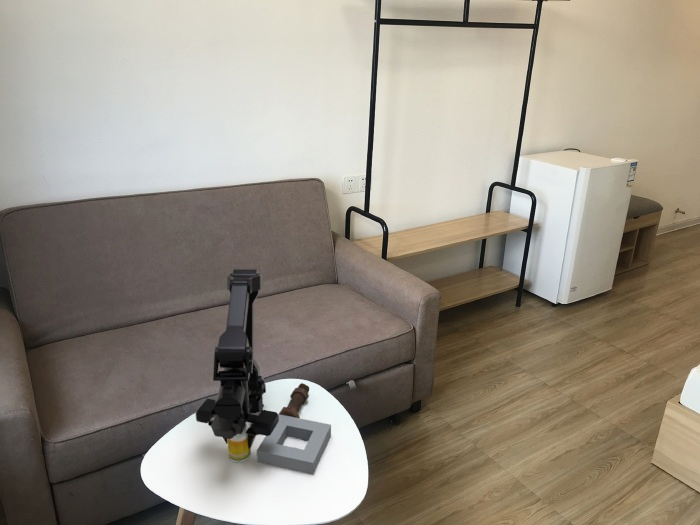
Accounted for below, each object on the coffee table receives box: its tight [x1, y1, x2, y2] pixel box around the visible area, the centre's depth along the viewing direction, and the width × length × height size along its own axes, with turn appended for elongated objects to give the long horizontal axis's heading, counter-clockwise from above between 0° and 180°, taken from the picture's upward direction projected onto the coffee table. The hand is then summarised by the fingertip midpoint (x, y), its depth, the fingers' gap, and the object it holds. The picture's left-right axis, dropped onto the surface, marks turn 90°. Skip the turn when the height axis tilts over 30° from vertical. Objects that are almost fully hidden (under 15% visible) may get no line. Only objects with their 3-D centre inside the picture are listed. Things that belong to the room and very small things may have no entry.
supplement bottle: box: [226, 422, 252, 463], centre depth 137 cm, size 5×5×10 cm
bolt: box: [278, 382, 310, 419], centre depth 155 cm, size 6×5×15 cm
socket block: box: [256, 413, 332, 476], centre depth 141 cm, size 14×14×4 cm
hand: (239, 445), depth 138 cm, fingers closed on supplement bottle, 5 cm apart
